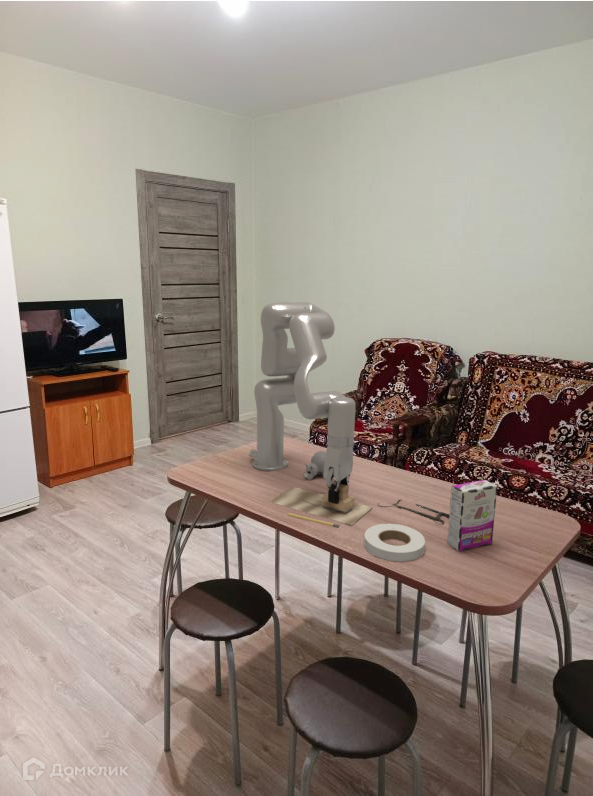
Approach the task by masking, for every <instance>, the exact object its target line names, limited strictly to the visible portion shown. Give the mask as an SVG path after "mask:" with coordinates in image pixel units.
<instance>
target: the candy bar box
mask: <svg viewBox="0 0 593 796" xmlns="http://www.w3.org/2000/svg"><path fill="white" fill-rule="evenodd" d="M450 491H451V492H450V501H449V502H450V504H449V515H450V516H449V518H448V528H447V529H448V531H447V544H448V546H449V547H451V548H452V549H454V550H455V551H457V552H464V551H467V550H472V549H476V547H477V548H480V547H485V546H488V545H491V544H492V545H493V534H494V525H495V516H496V515H495V513H496V505H497V494H498V485H497V484H494V483H493V482H490V481H488V479H481V480H476V481H470V482H466V483H465V482H464V483H460V484H452V485H451V489H450Z"/></svg>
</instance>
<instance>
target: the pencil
mask: <svg viewBox="0 0 593 796" xmlns="http://www.w3.org/2000/svg"><path fill="white" fill-rule="evenodd" d="M287 516H288V517H291V518H296V519H300V520H304V521H308V522H312V523H316V524H320V525H324V526H328V527H333V528H336V529H337V528H338V529H339V528H340V524H336V523H333V522H328V521H324V520H321V519H320V520H319V519H316V518H311V517H307V516H303V515H299V514H295V513H291V512H289V513H287Z"/></svg>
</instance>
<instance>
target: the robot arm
mask: <svg viewBox="0 0 593 796" xmlns="http://www.w3.org/2000/svg"><path fill="white" fill-rule="evenodd" d="M260 326H261V329H262V330H261V331H262V342H261V343H262V344H261V345H262V346H261V358H260V359H261V360H260V369H261V372H262V374H263V375H264V376H266V377H274V378H267V379H262V380H260V381H258V382H257V383H256V384H255V386H254V389H253V393H254V400H255V401H254V402H255V406H256V449H250V450H249V453H248V456H249V457H252V458H254V460H252V467H254V469H256V470H259V471H265V472H274V471H280V470H284V469H286V468H287V467H288V460H287V459H285V458H284V436H285V435H284V434H285V433H284V432H285V431H284V429H285V428H284V427H285V423H284V422H285V418H284V415H283V413H282V411H281V410H280V409H279V406H284V405H292V404H293V405H294V404H296V405H297V408H298V410H299V413H300V414H301V416H302V417H303V418H304V419H307V420H319V419H324V418H327V440H326V441H327V444H326V445H327V446H326V450H325V452H326V455H325V463H324V477H323V479H324V480H325V483H324V484H325V486H327V491H328V490H329V493H328V492H327V493H328V501H329V502H331V503H335V504H338V503H339V491H338V487H339V484H343V485H347V486H349V483H350V476H351V474H352V472H353V465H354V463H353V462H354V449H353V448H354V443H355V424H356V421H355V420H356V401H355V400H354V399H353V398H352V397H348V396H345V395H344V394H343V393H341V392H340V391H337V390H330V391H320V392H311V391H310V388H309V383H308V376H309V373H310V372H312V371H313V370H316V369H318V368H319V367H321V366H322V365H323V364H324V363H325V362H326V361H327V359H328V357H327V356H328V355H327V352H326V349H325V346H324V343H323V340H329V339H331V338H332V337H333V335H334V333H335V330H336V329H335V323H334V319H333V318H332V317H331V315H330V314H329V312H327V311H325V310H324V309H322V308H321V307H319V306H317V305H315V304H313V303H310V302H287V301H285V302H271V303H269V304H267V305H264V307H263V308H262V310H261V313H260ZM287 329H289V332H290V335H291V339H292V343H293V345H294V347H288V343H289V337H288V333H287V332H286V330H287ZM284 376H286V377H284ZM333 482H335V483H336V485H334V484H333Z"/></svg>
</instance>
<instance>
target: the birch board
mask: <svg viewBox="0 0 593 796" xmlns="http://www.w3.org/2000/svg"><path fill="white" fill-rule="evenodd" d="M324 495H325V494H322V493H318V492H315V491H310V490H307V489H303V488H299V487H295V486H292V487H290V488H289V489H287V490H285V491H284V492H282V493H280V494H278V495H276V496H275V497H273V498H272V499H270V500H269V501H268V503H272V504H275V505H279V506H282V507H287V508H290V509H293V510H296V511H300V512H304V513H308V514H312V515H315V516H318V517H320V518H321V517H322V518H326V519H329V520H331V521H332V520H333V521H335V522H340V523H344V525H347V526H351V527H353V526H354V525H355V524H356V523H357V522H358V521H360V520H361V519H362V518H363V517H365V516H366V515H367V514H368V513H369V512H370V511H371V510H372V509H373V508H374V507H373V506H368V505H366V504H365V505H364V504H361V503H357V502H354V507H353V508H351V509H350V510H349V511H348V512H346V513H345V512H342V511H338V510H334V509H331V508H327V507H323V506H322V496H324Z"/></svg>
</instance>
